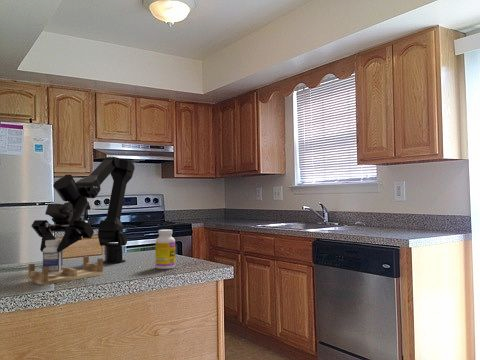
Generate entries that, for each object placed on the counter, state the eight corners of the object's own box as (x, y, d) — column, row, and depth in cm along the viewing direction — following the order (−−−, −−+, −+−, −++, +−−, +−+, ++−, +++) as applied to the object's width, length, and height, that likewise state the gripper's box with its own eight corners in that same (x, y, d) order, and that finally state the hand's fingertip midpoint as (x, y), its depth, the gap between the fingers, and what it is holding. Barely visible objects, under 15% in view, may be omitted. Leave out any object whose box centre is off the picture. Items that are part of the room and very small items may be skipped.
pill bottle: (51, 271, 129) (51, 239, 130) (66, 271, 128) (66, 239, 128) (38, 274, 124) (38, 241, 124) (54, 275, 123) (53, 241, 123)
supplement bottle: (171, 269, 141) (170, 231, 142) (152, 269, 142) (152, 230, 143) (178, 266, 148) (177, 229, 148) (160, 265, 149) (159, 229, 149)
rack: (28, 281, 125) (28, 264, 125) (86, 271, 140) (86, 256, 140) (44, 285, 119) (44, 267, 119) (102, 274, 134) (102, 258, 134)
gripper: (35, 194, 133) (7, 233, 122) (87, 193, 128) (64, 234, 117) (52, 217, 140) (28, 256, 129) (102, 217, 135) (81, 258, 125)
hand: (49, 251), depth 125 cm, fingers closed on pill bottle, 5 cm apart
